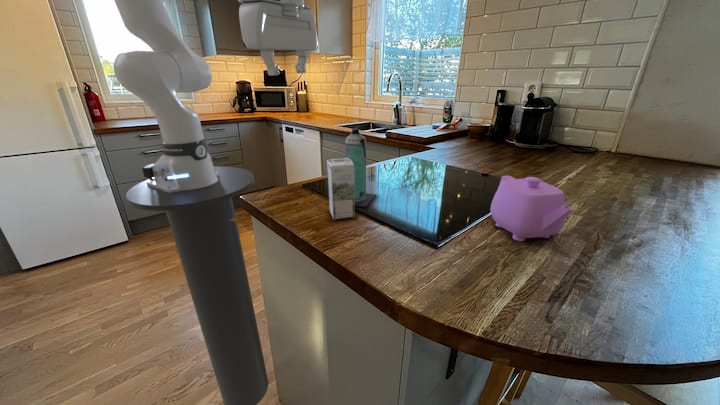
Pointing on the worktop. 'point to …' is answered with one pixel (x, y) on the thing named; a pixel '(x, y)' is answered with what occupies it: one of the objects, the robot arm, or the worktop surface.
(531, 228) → the teapot
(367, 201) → the coaster
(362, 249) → the worktop surface
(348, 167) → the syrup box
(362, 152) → the spray can
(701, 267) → the worktop surface
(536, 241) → the worktop surface
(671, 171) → the worktop surface
